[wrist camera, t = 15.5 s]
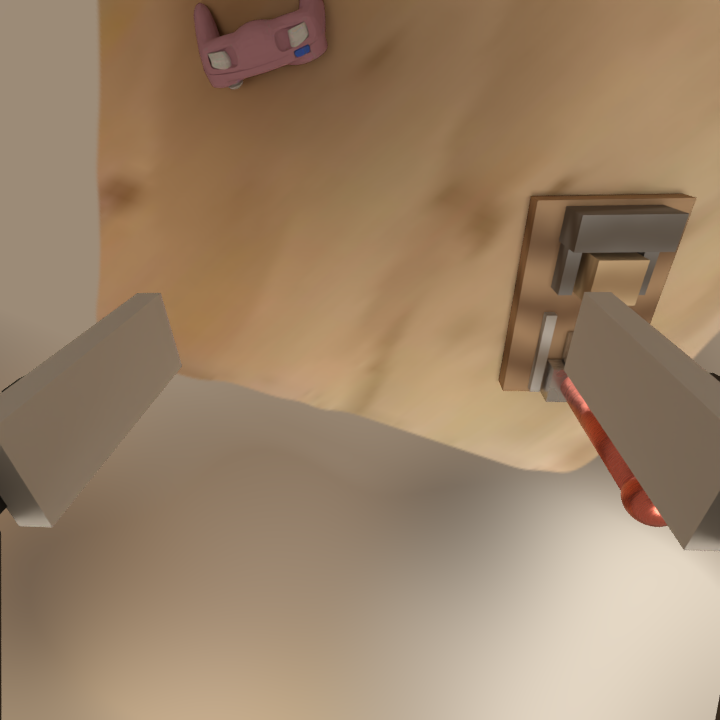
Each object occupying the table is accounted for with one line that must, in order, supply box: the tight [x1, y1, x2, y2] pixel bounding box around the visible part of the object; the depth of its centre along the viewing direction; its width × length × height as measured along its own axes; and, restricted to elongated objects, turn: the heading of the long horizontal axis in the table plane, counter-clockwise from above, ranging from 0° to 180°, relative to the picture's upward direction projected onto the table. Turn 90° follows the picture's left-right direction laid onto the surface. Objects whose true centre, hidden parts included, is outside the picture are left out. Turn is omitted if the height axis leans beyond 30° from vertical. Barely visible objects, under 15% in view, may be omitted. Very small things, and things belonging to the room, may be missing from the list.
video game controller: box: [194, 0, 328, 89], centre depth 31 cm, size 10×5×7 cm, turn 104°
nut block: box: [573, 252, 650, 306], centre depth 37 cm, size 4×4×4 cm
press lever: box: [540, 332, 668, 527], centre depth 36 cm, size 7×5×18 cm
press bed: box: [499, 194, 696, 392], centre depth 40 cm, size 20×13×6 cm, turn 2°
